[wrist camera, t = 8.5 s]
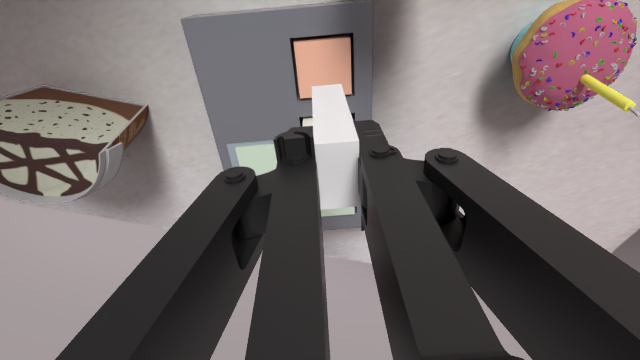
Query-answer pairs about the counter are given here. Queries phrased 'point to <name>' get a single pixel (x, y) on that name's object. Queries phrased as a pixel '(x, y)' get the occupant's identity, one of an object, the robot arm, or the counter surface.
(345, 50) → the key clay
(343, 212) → the key sage
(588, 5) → the cupcake
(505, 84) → the counter surface
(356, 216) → the keypad
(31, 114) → the food container
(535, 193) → the counter surface
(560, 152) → the counter surface
